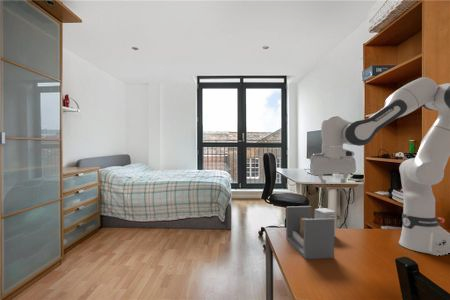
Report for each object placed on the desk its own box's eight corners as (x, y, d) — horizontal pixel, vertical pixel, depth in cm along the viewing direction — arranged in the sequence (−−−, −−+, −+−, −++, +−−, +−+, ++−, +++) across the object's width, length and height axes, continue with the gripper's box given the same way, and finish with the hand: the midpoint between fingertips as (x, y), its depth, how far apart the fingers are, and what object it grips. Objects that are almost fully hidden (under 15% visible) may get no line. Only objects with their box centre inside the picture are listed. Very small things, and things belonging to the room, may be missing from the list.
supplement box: (313, 233, 126) (313, 208, 126) (325, 231, 129) (325, 207, 129) (323, 238, 119) (323, 212, 119) (336, 236, 122) (336, 211, 122)
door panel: (299, 238, 115) (299, 217, 114) (305, 238, 115) (305, 217, 115) (310, 249, 103) (310, 225, 103) (317, 249, 103) (317, 225, 103)
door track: (286, 238, 119) (286, 206, 119) (310, 237, 120) (310, 205, 120) (305, 259, 97) (305, 219, 97) (334, 257, 98) (334, 219, 98)
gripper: (313, 153, 107) (314, 185, 107) (357, 152, 109) (358, 183, 109) (307, 153, 114) (308, 183, 114) (349, 152, 116) (350, 181, 116)
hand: (333, 183), depth 111 cm, fingers open, 8 cm apart
